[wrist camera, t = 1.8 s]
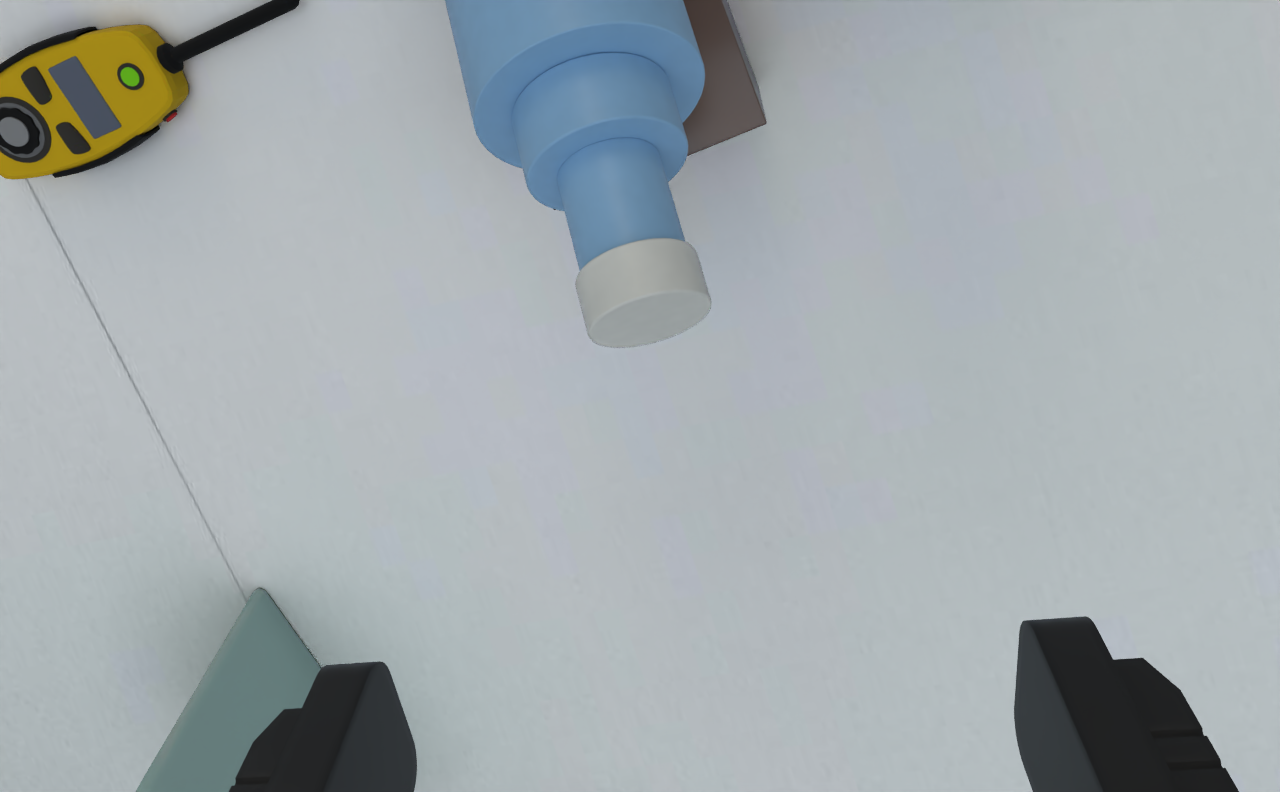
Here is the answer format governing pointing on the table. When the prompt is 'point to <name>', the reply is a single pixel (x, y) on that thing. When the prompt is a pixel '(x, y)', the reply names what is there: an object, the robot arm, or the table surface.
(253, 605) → the planter
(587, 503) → the table surface
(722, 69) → the dark brown cuboids
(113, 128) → the yellow walkie talkie
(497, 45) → the bottle
